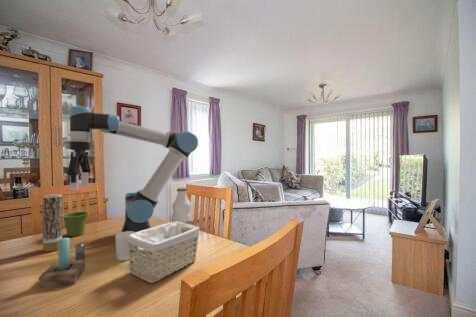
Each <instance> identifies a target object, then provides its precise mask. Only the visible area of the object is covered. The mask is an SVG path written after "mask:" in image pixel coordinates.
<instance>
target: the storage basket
mask: <svg viewBox="0 0 476 317" xmlns="http://www.w3.org/2000/svg"><path fill="white" fill-rule="evenodd" d="M181 229H182V230H186V231H187V232H184V233H182V234H181ZM200 229H201V228H200V226H196V225H194V224H193V225H192V224H191V225H189V224H185V223H181V222H177V221H176V222H172V221H171V222H168V223H163V224H160V225H156V226H152V227H151V228H149V229H145V230H142V231H138V232H136V233H133V234H130V235H128V247H129V248H128V249H129V260H128V262H129V273H131V274H133V275H134V276H136V277H137V278H139V279H141V280H144V282H148V283H149V284H154V283H156V282H158V281H160V280H162V279H164V278H165V276H166V277H167V275H168V276H170V275H172V274H173V273H175V271H176V272H177V271H179V269H180V270H182V269H184V268H185V267H186V266H188V265H190V263H191V264H192V263H194V262H195V261H196V259H197V258H196V257H197V251H198V242H199V236H200ZM184 266H185V267H184ZM181 268H182V269H181Z"/></svg>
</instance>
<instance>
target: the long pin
mask: <svg viewBox="0 0 476 317" xmlns="http://www.w3.org/2000/svg"><path fill="white" fill-rule="evenodd" d="M70 242H71V240H70V237H62V239H59V240H58V250H57V254H58V255H57V262H58V271H63V270H69V269H70V261H71V260H70V259H71V257H70V256H71V255H70V252H71V251H70V249H71V248H70V246H71V245H70Z"/></svg>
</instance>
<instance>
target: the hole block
mask: <svg viewBox="0 0 476 317" xmlns="http://www.w3.org/2000/svg"><path fill="white" fill-rule="evenodd" d="M85 270H86V258H85V259H83V260H75V259H74V260H70V269H69V270H63V271H58V261H57V262H53V263H52V264H50V265H49V267H47V269H46V270H45V271H44V272H42V274H40V275H39V276H38V290H43V289H44V288H45V289H51V288H50V287H52V288H57V286H59V287H66V286H72V285H71V284H73V285H76V283H77V282H78V280H80V279H79V278H81V276H82V275H83V273H84V272H85ZM65 285H66V286H65ZM45 289H44V290H45Z"/></svg>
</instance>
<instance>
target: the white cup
mask: <svg viewBox="0 0 476 317" xmlns="http://www.w3.org/2000/svg"><path fill="white" fill-rule="evenodd" d="M133 233H135V232H133V231H126V232H121V231H120V232H118V233H117V234H115V236H114V238H115V252H116V257H115V258H116V260H117V261H120V262H124V261H129V249H128V248H129V247H128V235H130V234H133Z"/></svg>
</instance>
